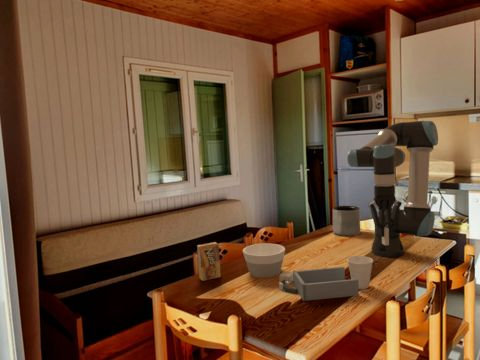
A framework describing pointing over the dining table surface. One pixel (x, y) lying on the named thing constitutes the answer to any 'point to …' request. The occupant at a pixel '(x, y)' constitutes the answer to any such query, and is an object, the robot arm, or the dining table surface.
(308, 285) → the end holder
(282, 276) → the clamp and clip
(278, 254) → the bowl
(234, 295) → the dining table surface
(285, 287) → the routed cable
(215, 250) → the candy box
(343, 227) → the planter
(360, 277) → the cup
